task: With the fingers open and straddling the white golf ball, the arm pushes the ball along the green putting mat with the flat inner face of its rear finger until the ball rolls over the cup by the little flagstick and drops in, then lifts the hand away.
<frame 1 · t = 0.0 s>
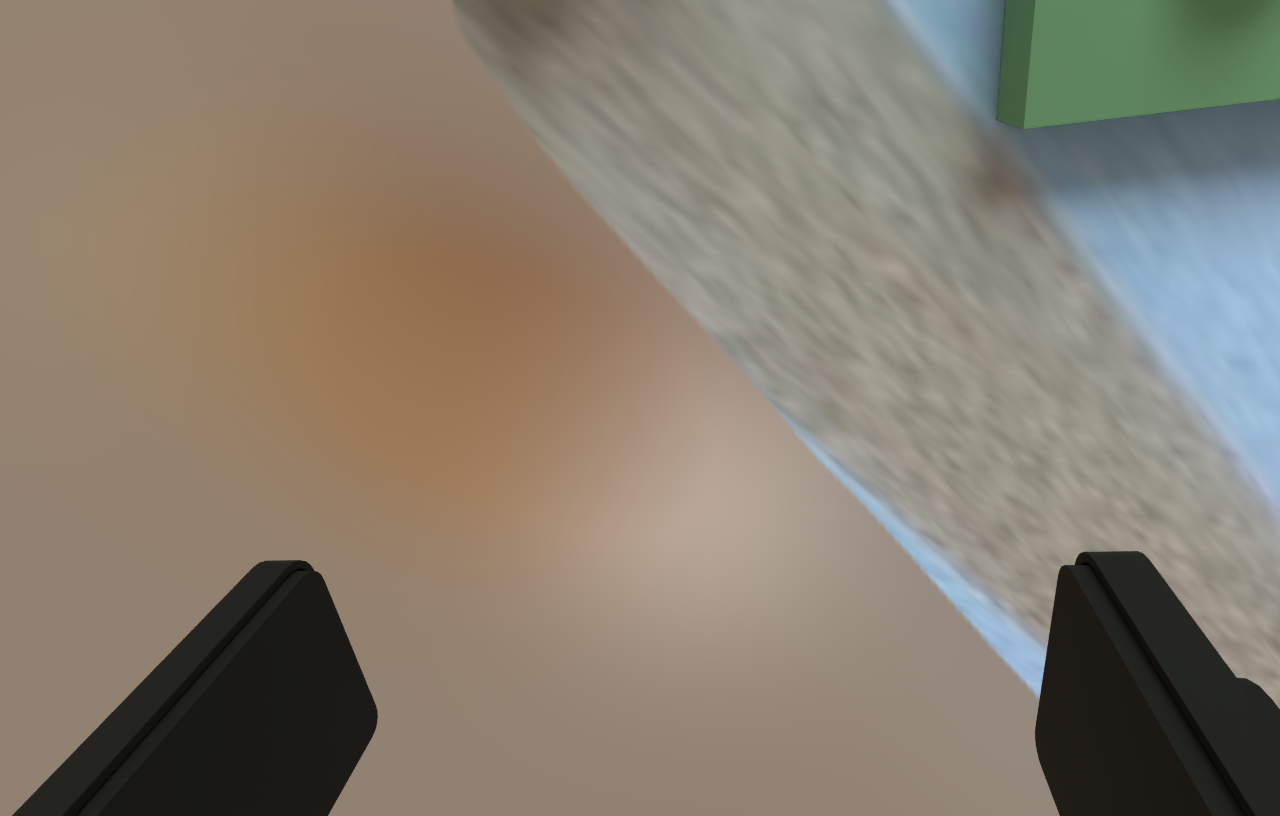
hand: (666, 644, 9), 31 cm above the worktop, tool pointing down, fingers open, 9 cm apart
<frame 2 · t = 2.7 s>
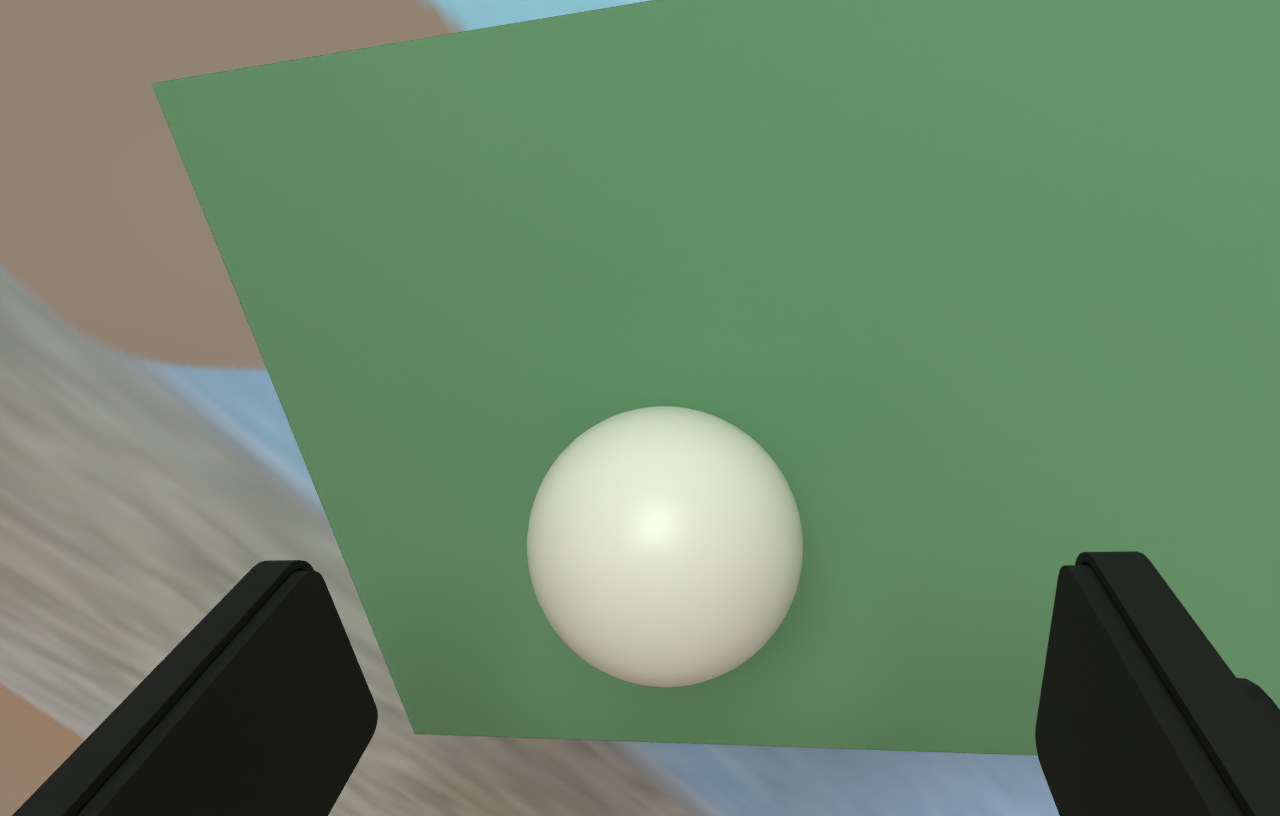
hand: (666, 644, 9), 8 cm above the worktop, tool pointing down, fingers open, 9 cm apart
putting mat: (1040, 348, 14), on the worktop
ball: (664, 541, 11), point 6 cm above the worktop, touching putting mat
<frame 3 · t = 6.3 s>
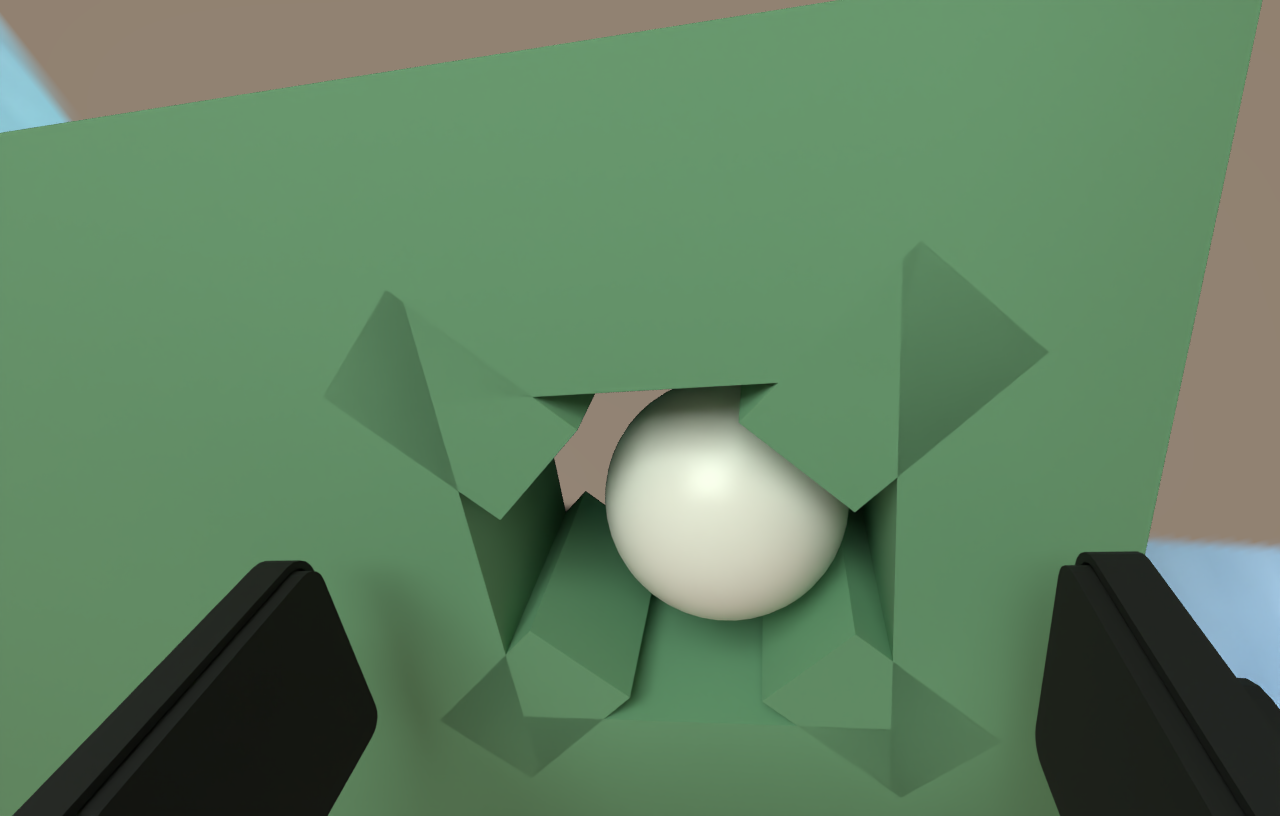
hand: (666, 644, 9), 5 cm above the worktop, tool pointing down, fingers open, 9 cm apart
putting mat: (330, 456, 15), on the worktop
ball: (724, 496, 12), point 2 cm above the worktop, tilted 130°
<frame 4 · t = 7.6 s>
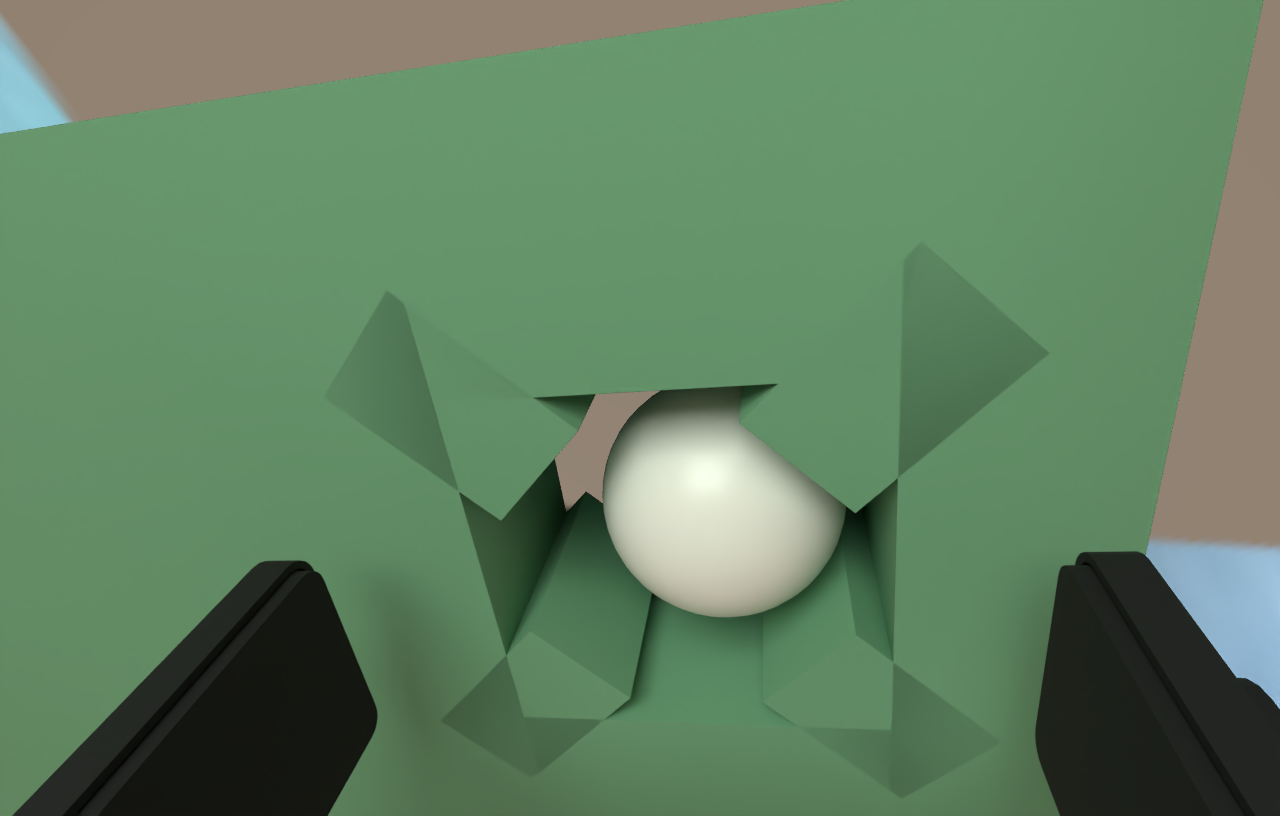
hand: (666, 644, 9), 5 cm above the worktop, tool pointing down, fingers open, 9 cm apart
putting mat: (330, 457, 15), on the worktop
ball: (722, 492, 12), point 2 cm above the worktop, tilted 130°
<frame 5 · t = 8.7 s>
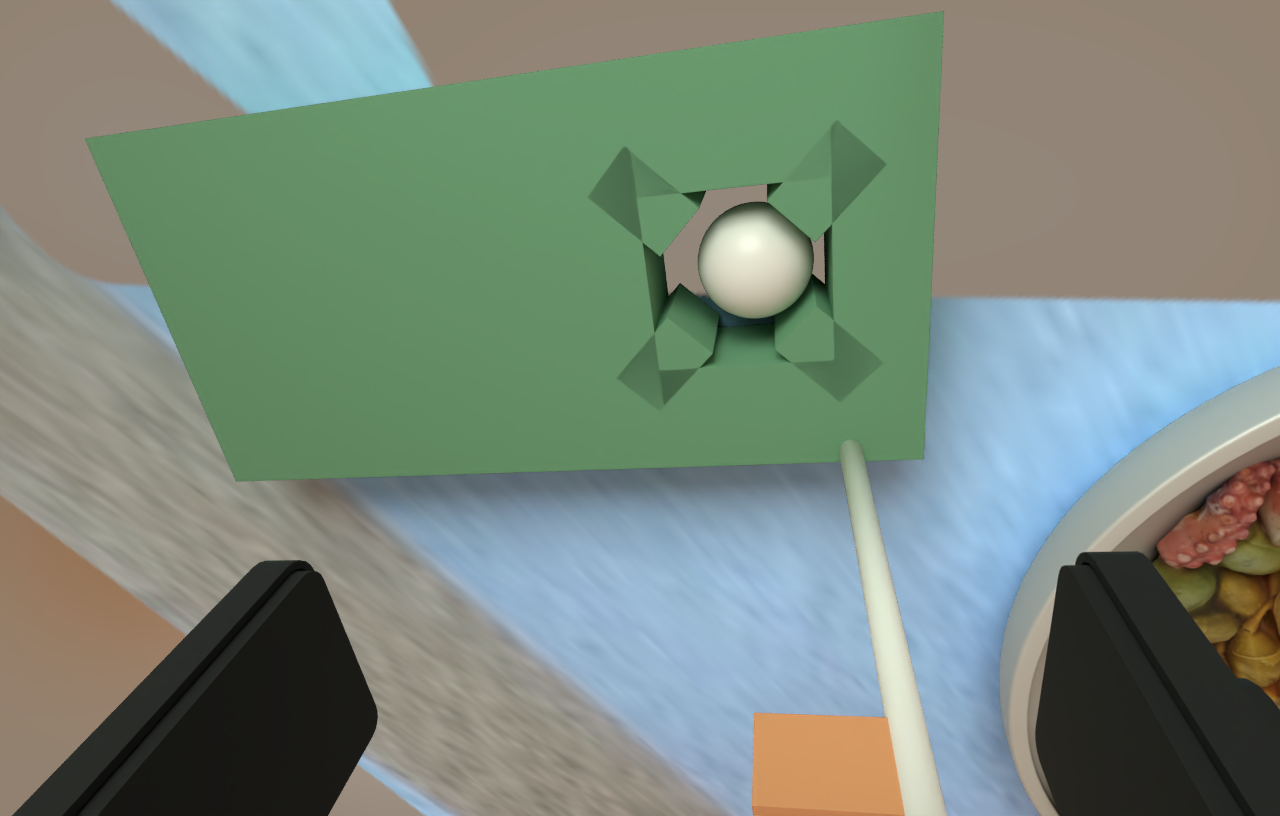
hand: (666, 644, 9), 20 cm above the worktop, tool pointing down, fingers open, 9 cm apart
putting mat: (540, 268, 29), on the worktop
ball: (755, 261, 25), point 2 cm above the worktop, tilted 129°
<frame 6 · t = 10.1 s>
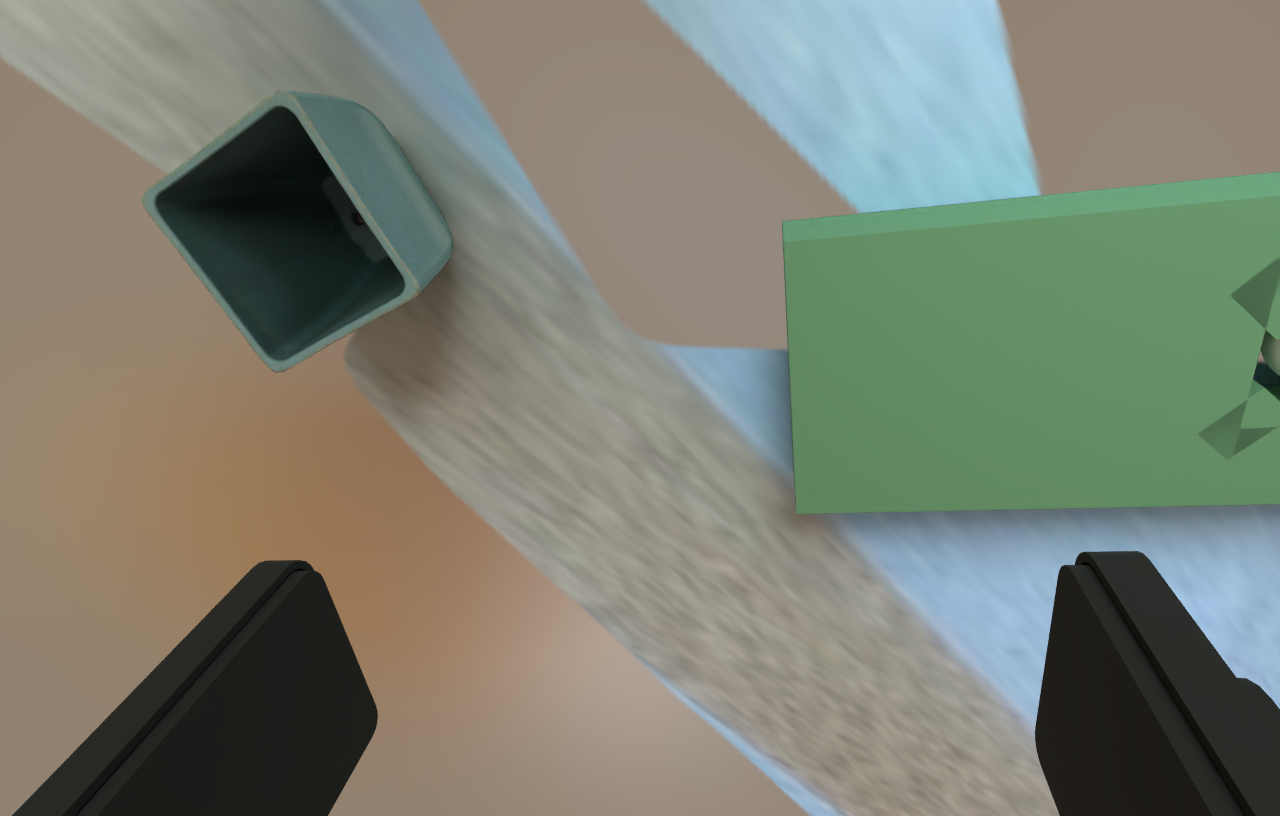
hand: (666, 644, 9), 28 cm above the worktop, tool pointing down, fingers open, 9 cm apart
flower pot: (384, 201, 37), on the worktop
putting mat: (1086, 338, 34), on the worktop
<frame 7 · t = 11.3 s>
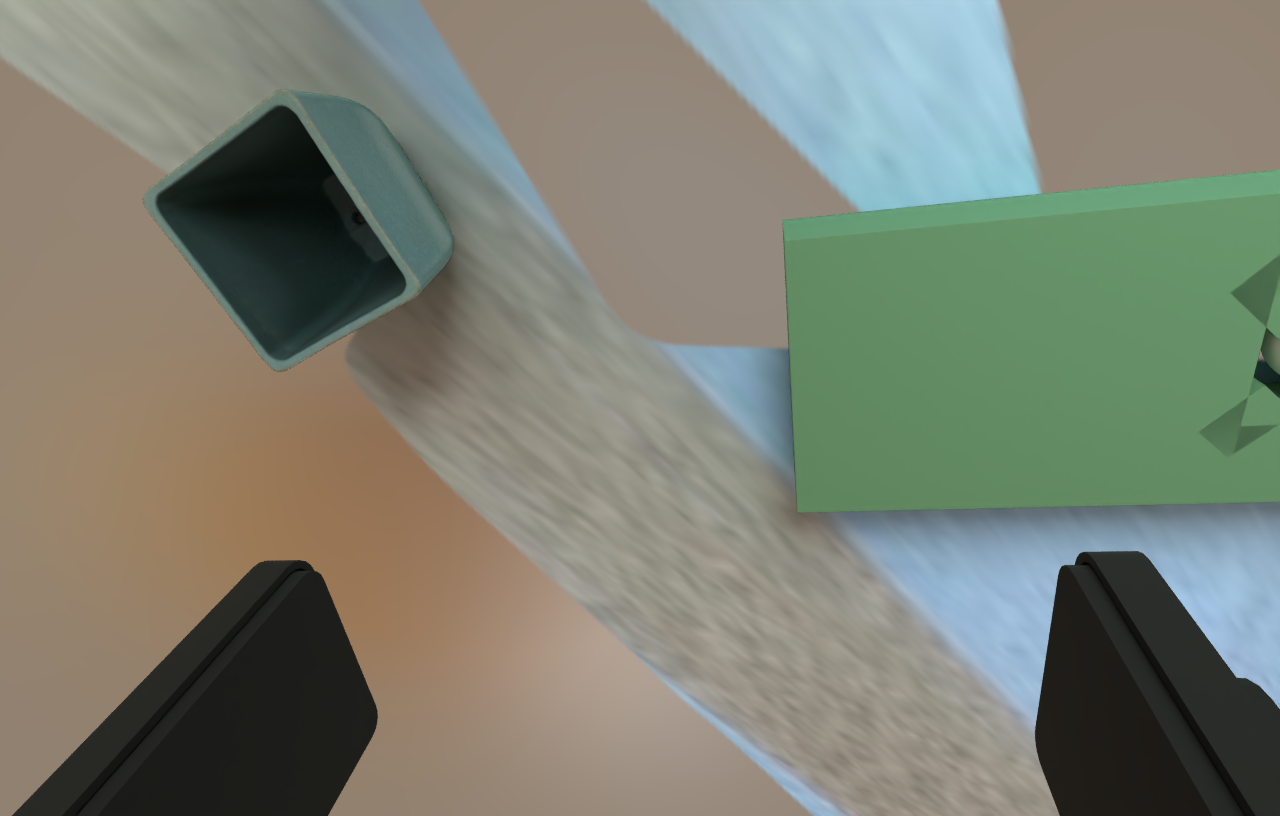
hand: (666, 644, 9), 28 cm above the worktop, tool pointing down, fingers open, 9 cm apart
flower pot: (384, 200, 37), on the worktop
putting mat: (1086, 336, 34), on the worktop
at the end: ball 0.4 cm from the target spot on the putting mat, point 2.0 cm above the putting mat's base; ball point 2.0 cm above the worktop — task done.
